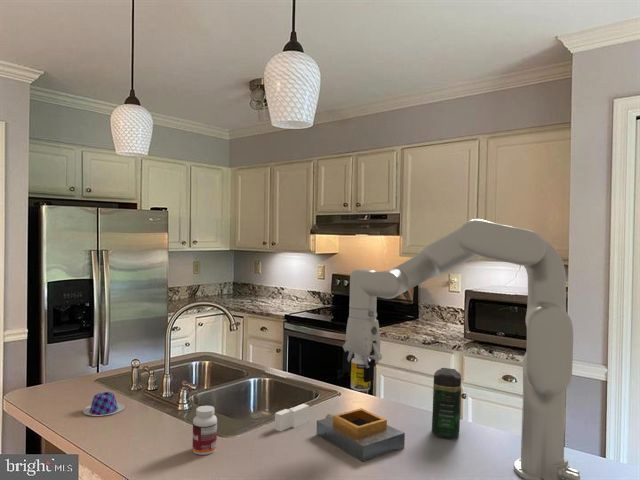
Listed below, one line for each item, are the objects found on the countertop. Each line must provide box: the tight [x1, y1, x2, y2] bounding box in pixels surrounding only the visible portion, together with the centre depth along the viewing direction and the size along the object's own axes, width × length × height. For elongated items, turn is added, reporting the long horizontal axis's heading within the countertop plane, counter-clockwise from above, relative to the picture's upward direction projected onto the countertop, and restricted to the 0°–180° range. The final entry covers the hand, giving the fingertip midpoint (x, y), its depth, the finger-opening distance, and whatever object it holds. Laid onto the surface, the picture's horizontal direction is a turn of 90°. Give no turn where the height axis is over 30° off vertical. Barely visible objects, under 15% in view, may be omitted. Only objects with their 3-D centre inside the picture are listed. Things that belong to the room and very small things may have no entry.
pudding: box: [82, 391, 125, 417], centre depth 152 cm, size 12×12×5 cm
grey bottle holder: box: [315, 407, 406, 463], centre depth 135 cm, size 24×15×6 cm, turn 37°
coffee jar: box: [431, 367, 462, 440], centre depth 141 cm, size 10×8×19 cm
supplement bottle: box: [350, 354, 372, 392], centre depth 134 cm, size 6×6×10 cm
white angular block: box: [274, 403, 310, 433], centre depth 144 cm, size 15×11×6 cm
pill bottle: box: [191, 405, 218, 456], centre depth 125 cm, size 6×6×11 cm
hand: (360, 377), depth 134 cm, fingers closed on supplement bottle, 5 cm apart
